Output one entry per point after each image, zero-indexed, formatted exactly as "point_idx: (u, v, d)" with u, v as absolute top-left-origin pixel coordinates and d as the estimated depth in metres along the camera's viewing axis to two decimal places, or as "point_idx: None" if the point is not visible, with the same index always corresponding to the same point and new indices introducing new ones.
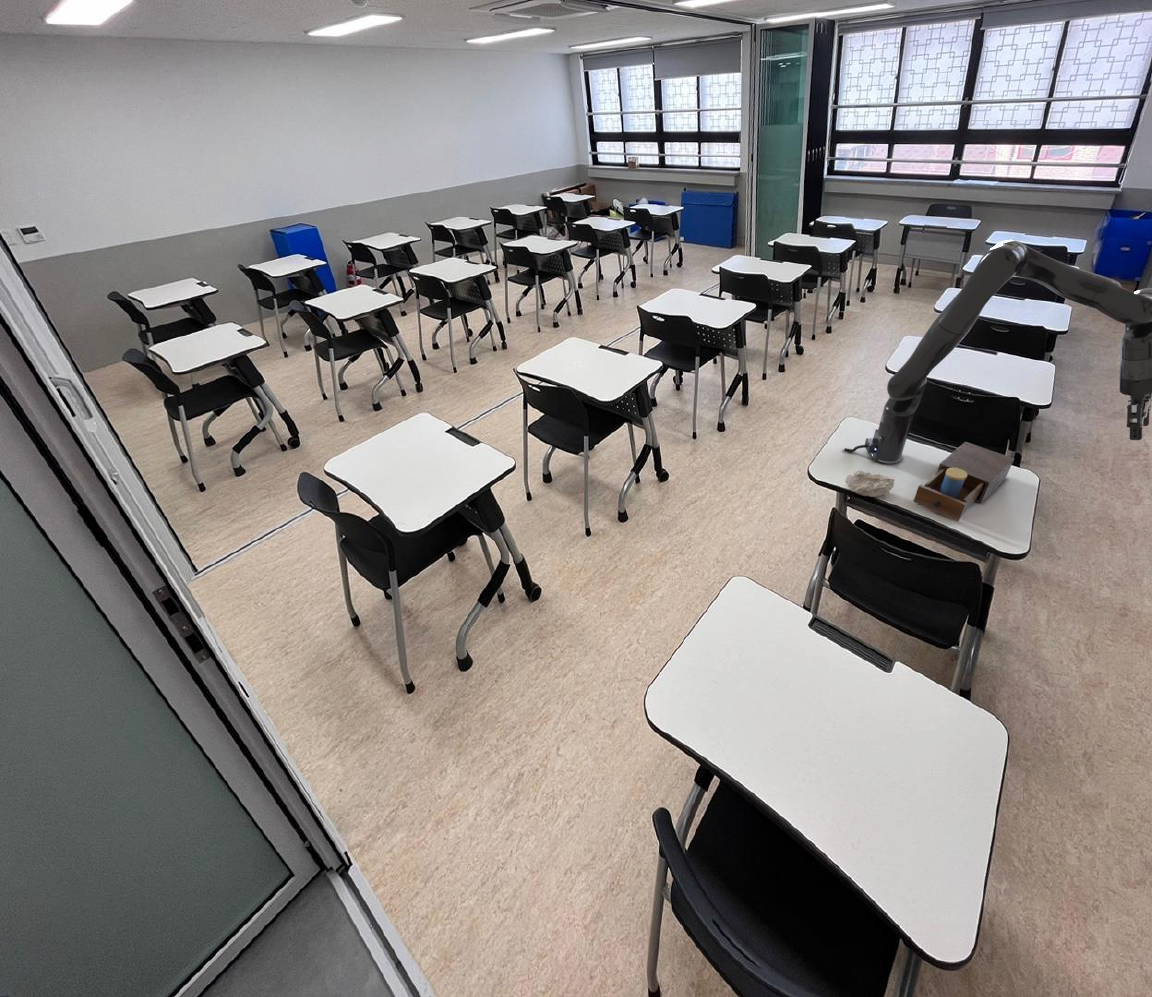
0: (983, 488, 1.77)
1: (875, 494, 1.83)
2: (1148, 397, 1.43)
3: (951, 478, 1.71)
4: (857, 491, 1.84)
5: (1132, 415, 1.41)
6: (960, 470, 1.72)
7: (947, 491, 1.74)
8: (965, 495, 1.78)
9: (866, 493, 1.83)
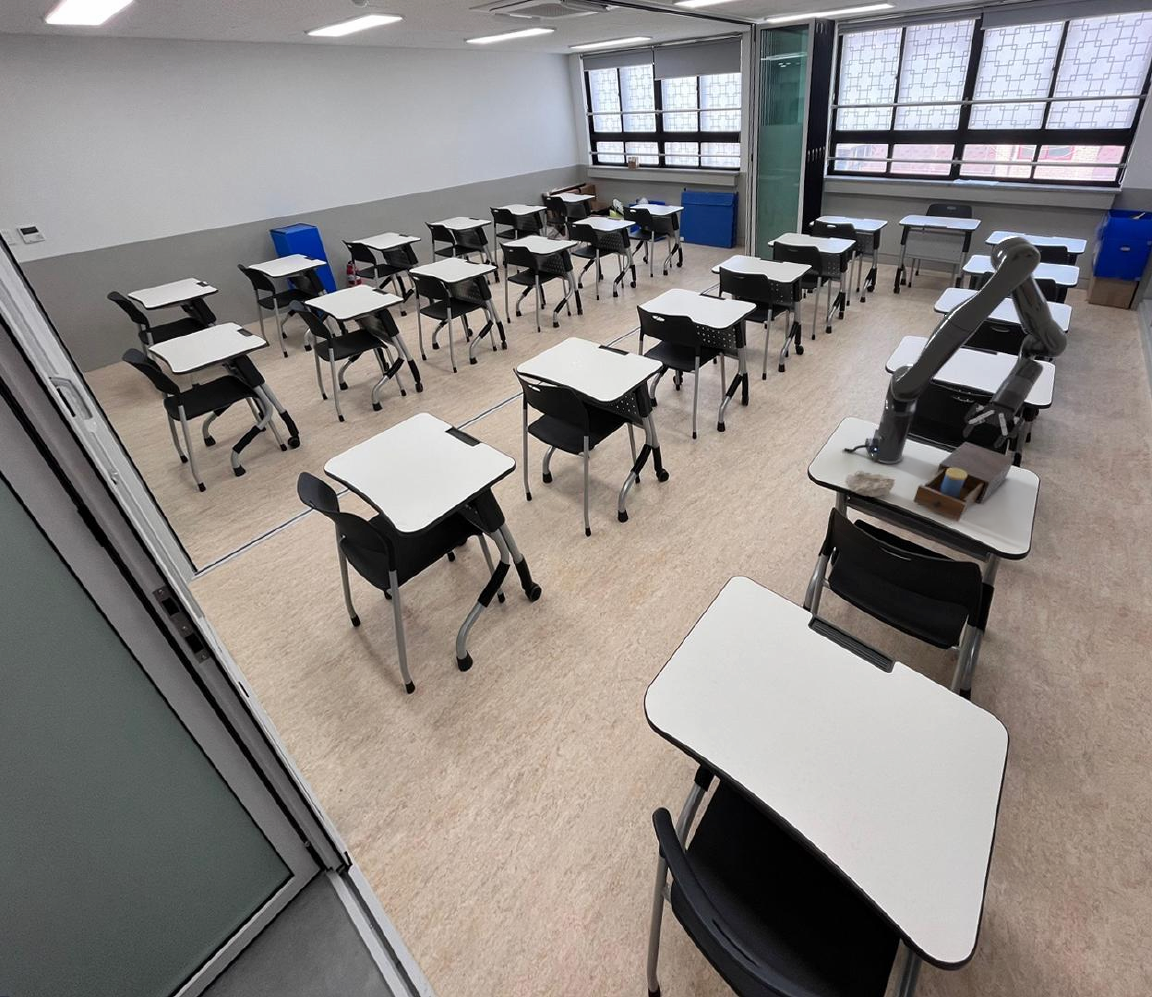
0: (983, 488, 1.77)
1: (875, 494, 1.83)
2: None
3: (951, 478, 1.71)
4: (857, 491, 1.84)
5: (1020, 427, 1.67)
6: (960, 470, 1.72)
7: (947, 491, 1.74)
8: (965, 495, 1.78)
9: (866, 493, 1.83)
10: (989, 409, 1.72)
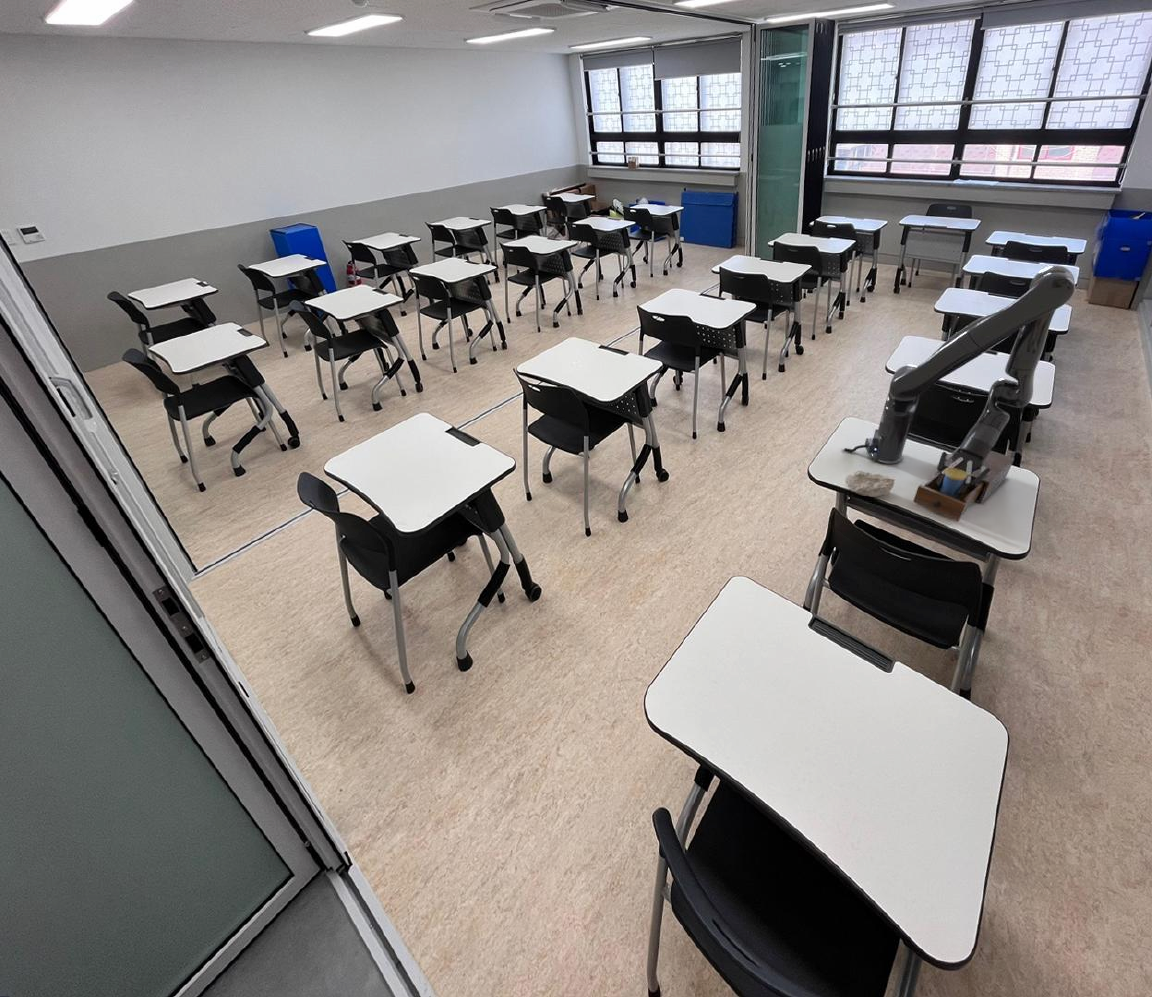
0: (983, 488, 1.77)
1: (875, 494, 1.83)
2: None
3: (951, 478, 1.71)
4: (857, 491, 1.84)
5: (984, 477, 1.69)
6: (960, 470, 1.72)
7: (947, 491, 1.74)
8: (965, 495, 1.78)
9: (866, 493, 1.83)
10: (958, 455, 1.74)
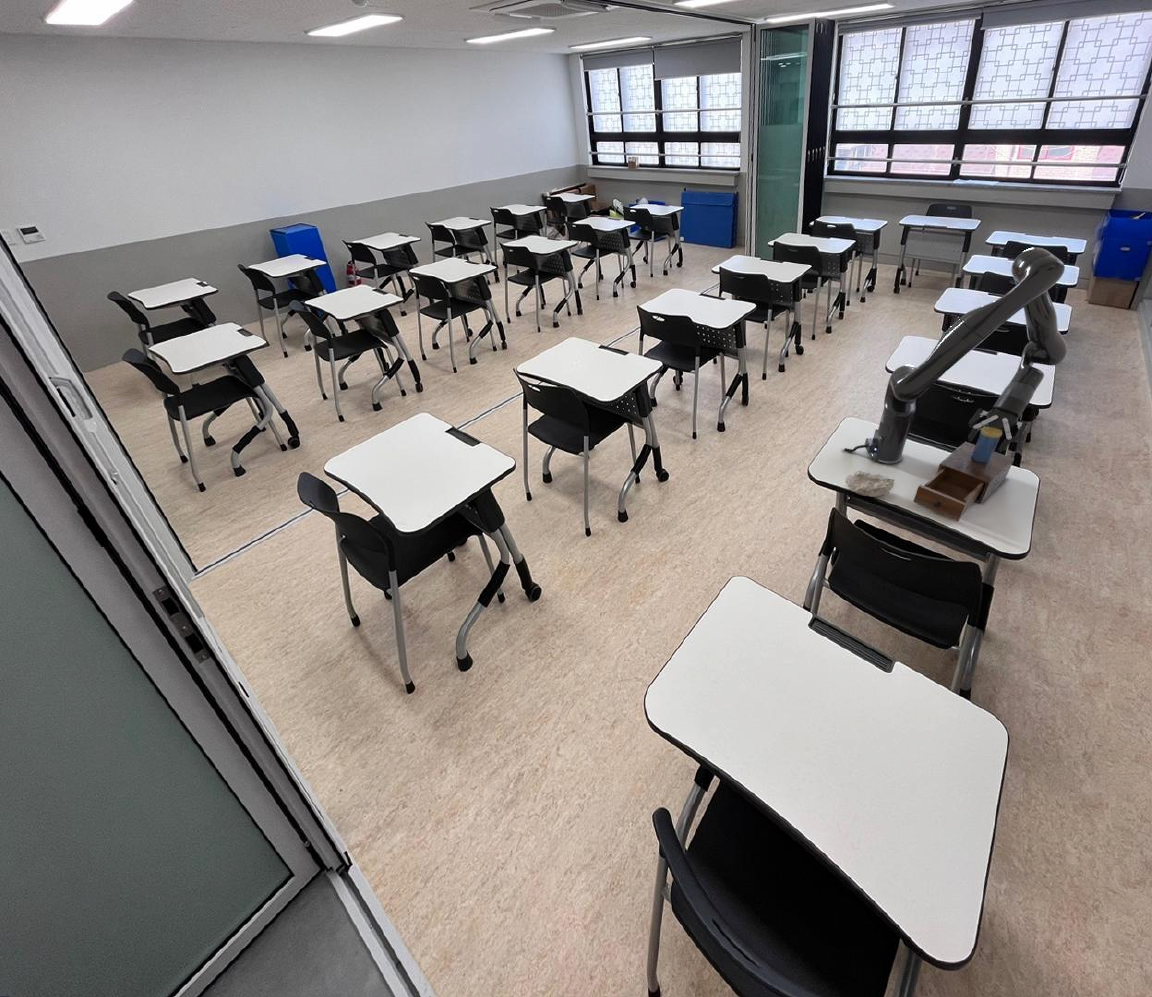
0: (983, 488, 1.77)
1: (875, 494, 1.83)
2: None
3: (986, 436, 1.76)
4: (857, 491, 1.84)
5: (1023, 431, 1.73)
6: (995, 429, 1.77)
7: (982, 449, 1.78)
8: (965, 495, 1.78)
9: (866, 493, 1.83)
10: (993, 414, 1.78)
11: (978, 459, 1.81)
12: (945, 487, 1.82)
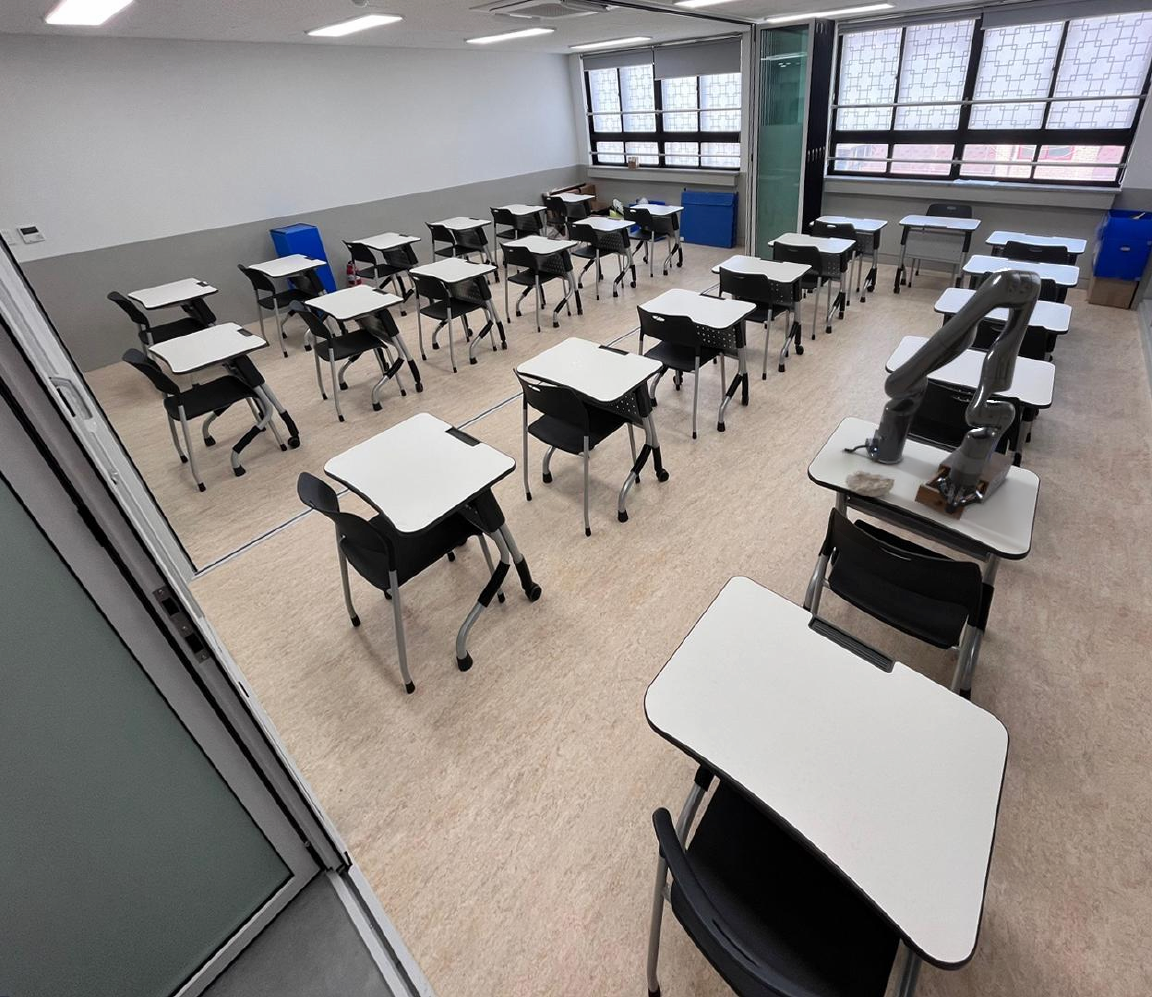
0: None
1: (875, 494, 1.83)
2: (961, 488, 1.64)
3: None
4: (857, 491, 1.84)
5: None
6: None
7: None
8: None
9: (866, 493, 1.83)
10: None
11: None
12: (946, 486, 1.82)
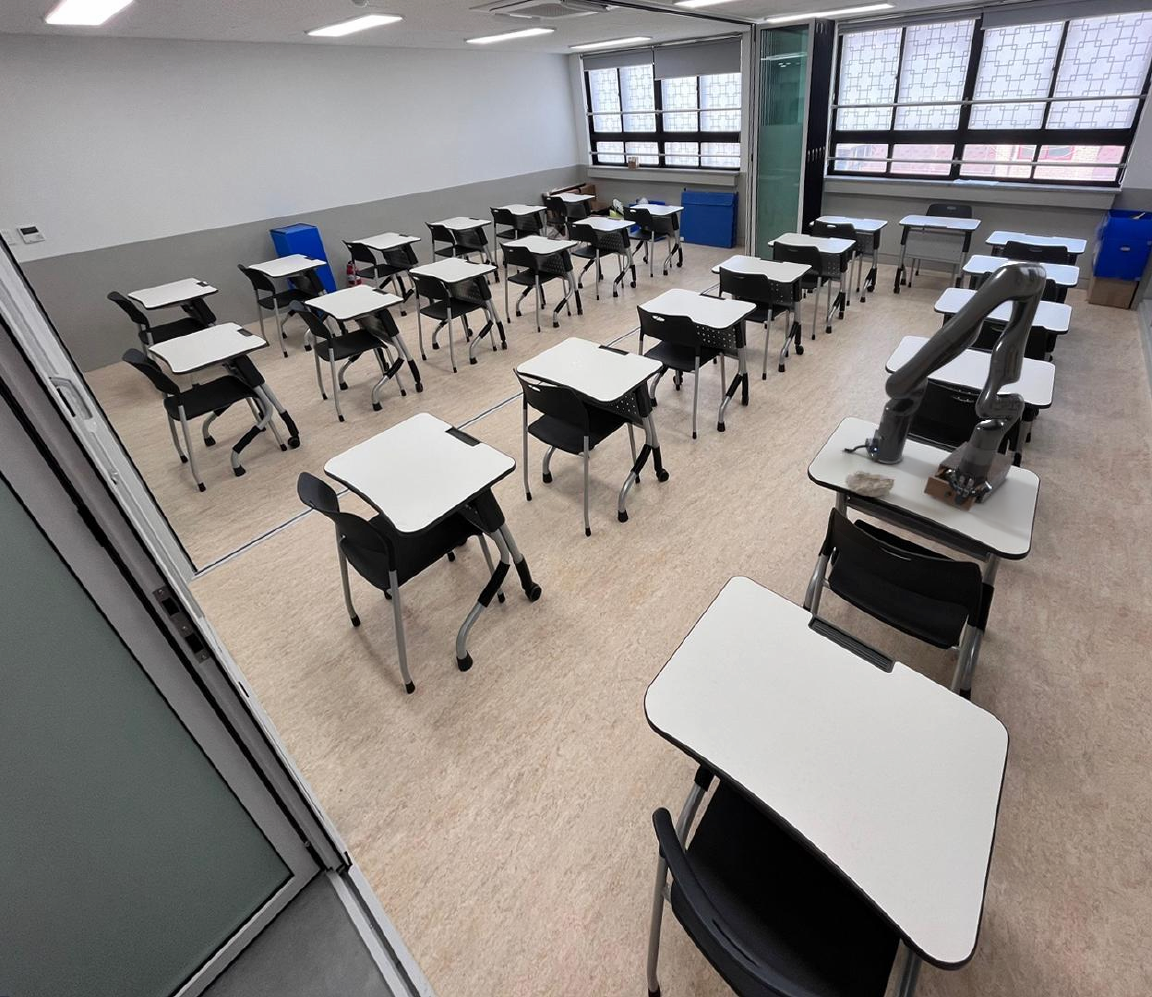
0: None
1: (875, 494, 1.83)
2: (971, 479, 1.67)
3: None
4: (857, 491, 1.84)
5: None
6: None
7: None
8: None
9: (866, 493, 1.83)
10: None
11: None
12: None
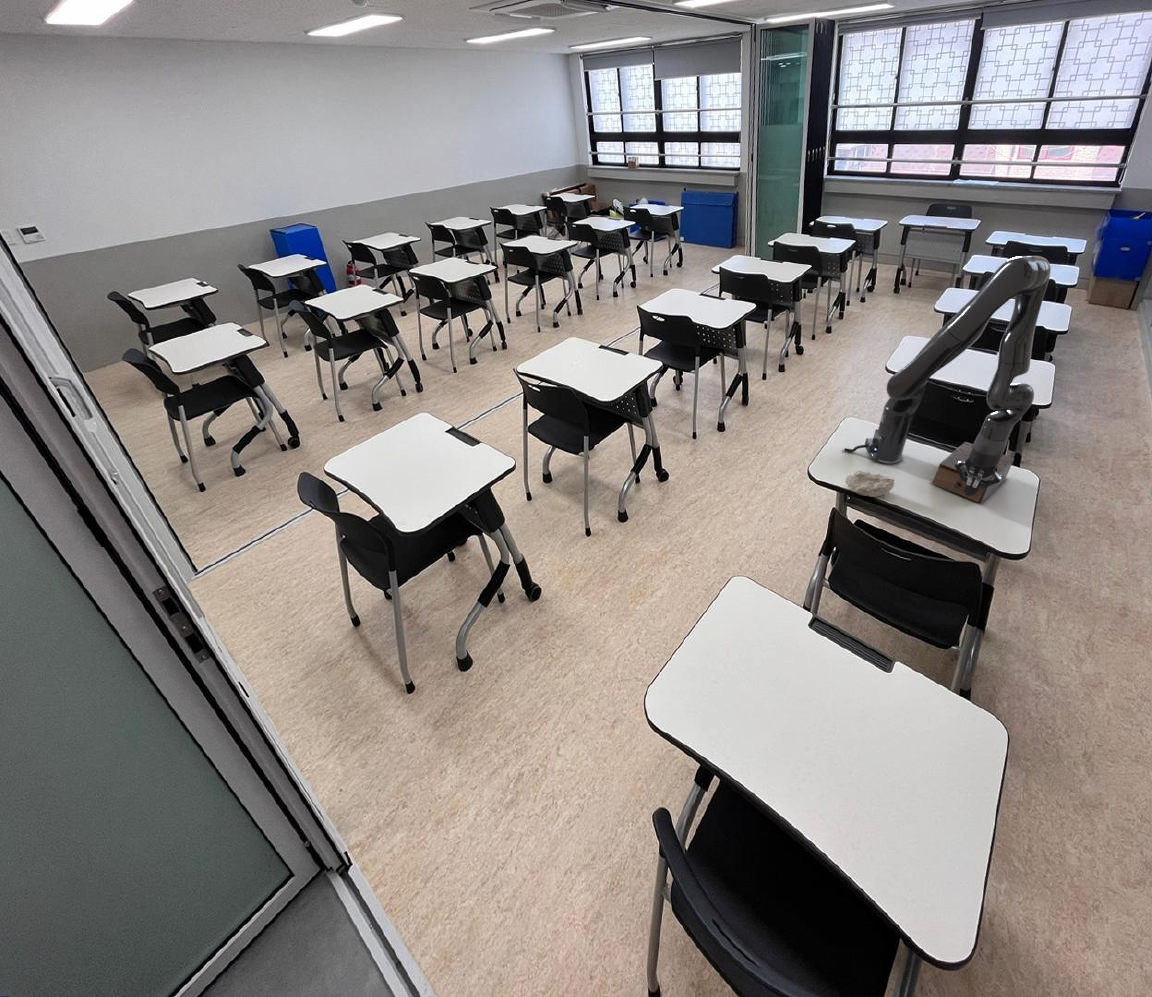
0: None
1: (875, 494, 1.83)
2: (981, 470, 1.69)
3: None
4: (857, 491, 1.84)
5: None
6: None
7: None
8: None
9: (866, 493, 1.83)
10: None
11: None
12: None
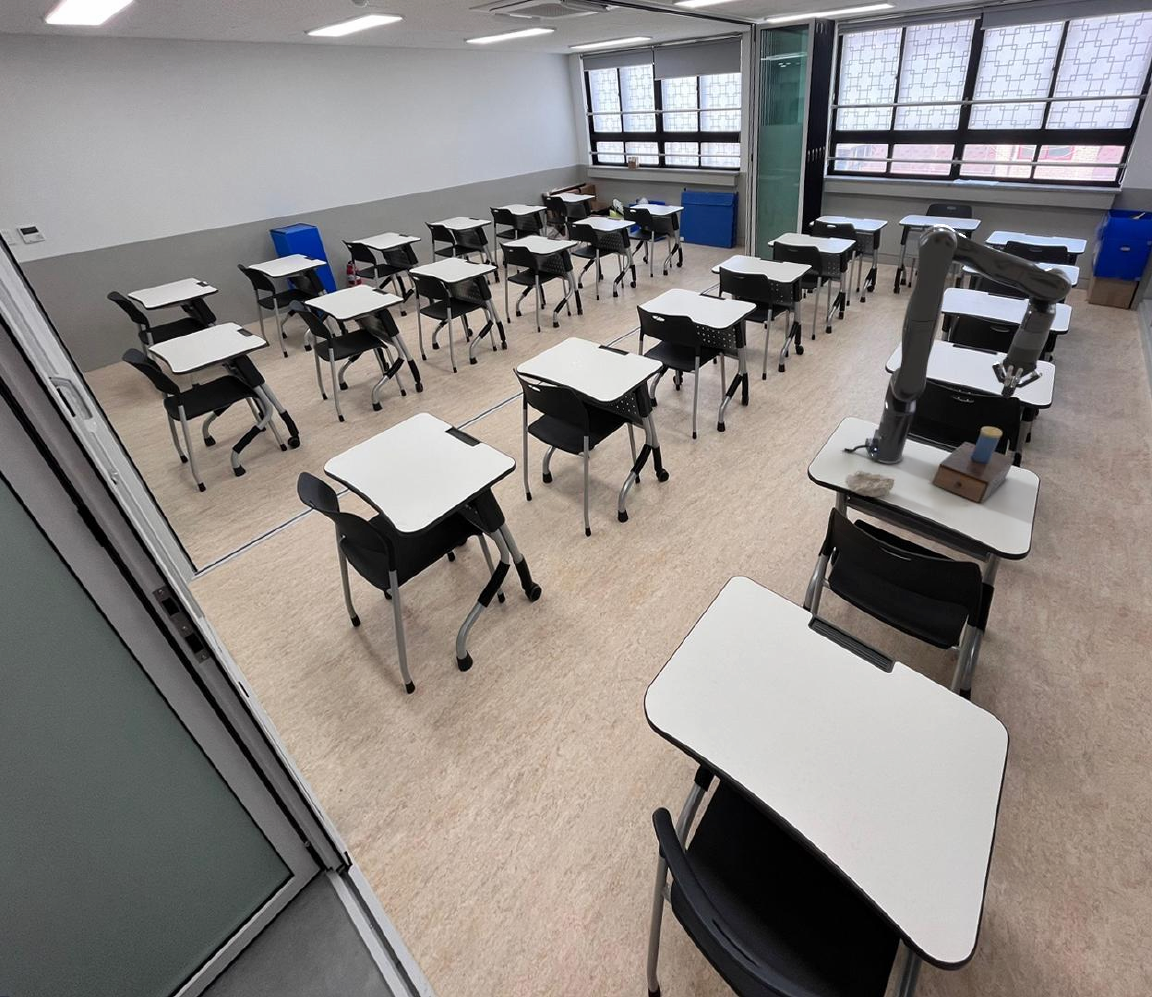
0: None
1: (875, 494, 1.83)
2: (1019, 368, 1.67)
3: (986, 436, 1.76)
4: (857, 491, 1.84)
5: None
6: (995, 429, 1.77)
7: (982, 449, 1.78)
8: None
9: (866, 493, 1.83)
10: None
11: (978, 459, 1.81)
12: None
